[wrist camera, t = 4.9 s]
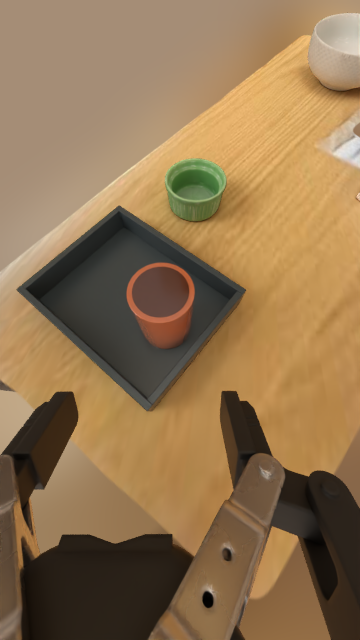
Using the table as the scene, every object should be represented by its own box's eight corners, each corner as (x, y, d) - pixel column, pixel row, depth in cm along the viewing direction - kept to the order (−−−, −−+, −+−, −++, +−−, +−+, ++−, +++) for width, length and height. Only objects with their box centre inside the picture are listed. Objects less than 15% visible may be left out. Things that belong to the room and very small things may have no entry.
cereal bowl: (282, 79, 51) (297, 30, 44) (326, 53, 55) (346, 5, 48) (349, 113, 46) (376, 64, 40) (392, 82, 50) (424, 33, 44)
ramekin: (155, 208, 37) (152, 183, 33) (187, 176, 40) (188, 150, 36) (201, 234, 35) (203, 211, 31) (232, 199, 38) (238, 173, 34)
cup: (169, 359, 28) (163, 336, 19) (132, 328, 29) (111, 295, 21) (200, 322, 29) (208, 286, 21) (164, 294, 31) (157, 251, 22)
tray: (151, 411, 26) (147, 411, 23) (33, 302, 31) (15, 289, 28) (239, 302, 31) (246, 289, 28) (124, 224, 36) (119, 205, 33)
